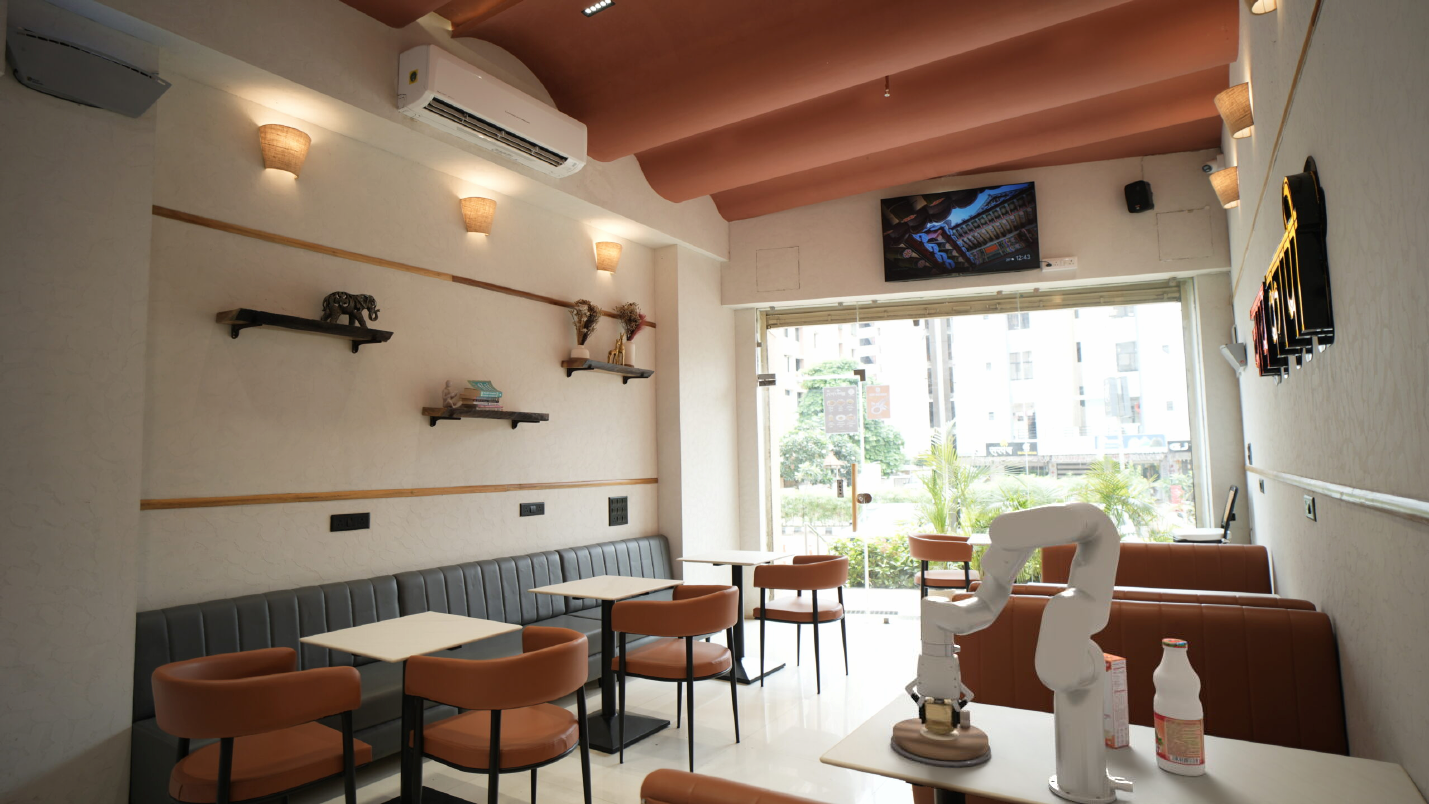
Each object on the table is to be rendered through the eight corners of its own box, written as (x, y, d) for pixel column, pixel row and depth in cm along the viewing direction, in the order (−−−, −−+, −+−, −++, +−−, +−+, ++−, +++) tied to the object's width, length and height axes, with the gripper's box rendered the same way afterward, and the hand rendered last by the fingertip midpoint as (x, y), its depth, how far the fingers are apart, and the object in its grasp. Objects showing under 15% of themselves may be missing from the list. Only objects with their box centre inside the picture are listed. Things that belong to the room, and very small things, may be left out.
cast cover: (961, 728, 179) (960, 699, 179) (943, 735, 174) (942, 705, 175) (936, 720, 184) (935, 692, 185) (918, 726, 180) (917, 697, 180)
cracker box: (1064, 730, 190) (1061, 646, 192) (1080, 726, 193) (1077, 644, 194) (1113, 749, 178) (1110, 660, 179) (1130, 745, 180) (1127, 657, 182)
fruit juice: (1188, 780, 161) (1181, 647, 163) (1146, 764, 169) (1141, 638, 171) (1215, 772, 165) (1208, 643, 167) (1173, 756, 173) (1167, 634, 175)
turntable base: (993, 738, 185) (993, 734, 185) (987, 774, 164) (987, 769, 164) (899, 725, 194) (899, 721, 194) (882, 757, 173) (882, 753, 173)
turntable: (892, 722, 192) (891, 700, 193) (982, 729, 187) (981, 706, 188) (893, 755, 171) (892, 730, 171) (994, 763, 166) (994, 737, 166)
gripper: (976, 648, 181) (978, 724, 179) (903, 641, 188) (905, 714, 186) (974, 656, 174) (976, 734, 172) (898, 648, 181) (900, 724, 179)
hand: (939, 723), depth 179 cm, fingers closed on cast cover, 6 cm apart
